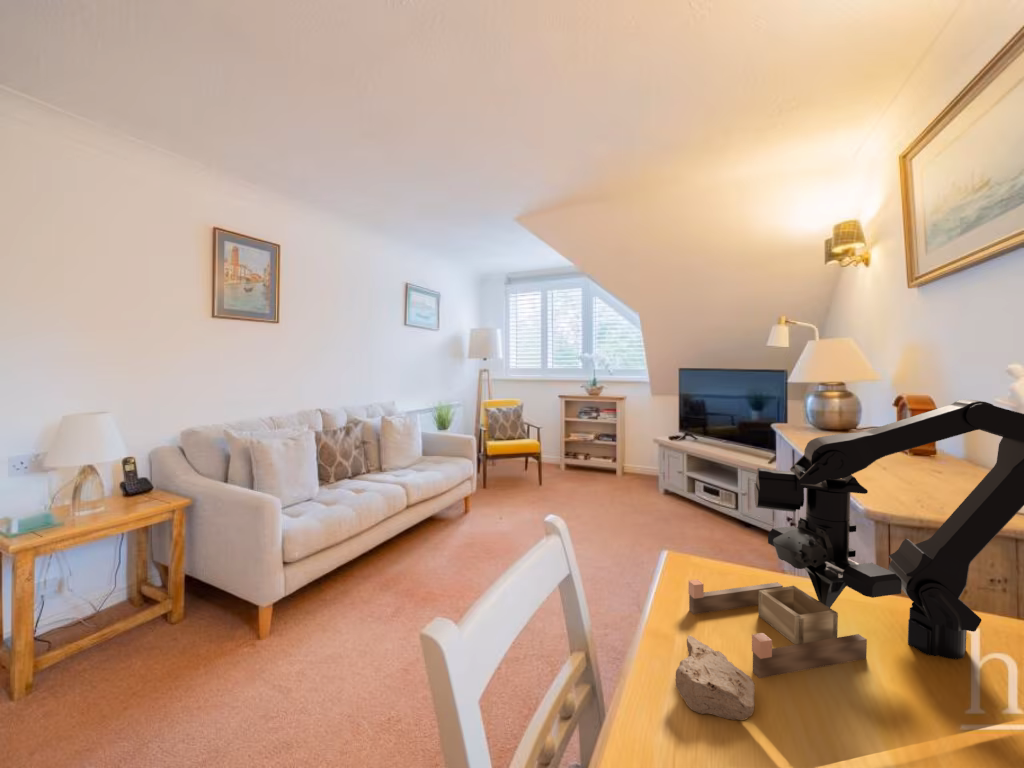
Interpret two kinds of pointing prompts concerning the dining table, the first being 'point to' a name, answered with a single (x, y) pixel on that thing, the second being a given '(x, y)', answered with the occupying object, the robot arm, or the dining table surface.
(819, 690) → the dining table surface
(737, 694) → the stone
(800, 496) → the robot arm
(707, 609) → the bay
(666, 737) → the dining table surface
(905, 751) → the dining table surface
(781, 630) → the box
